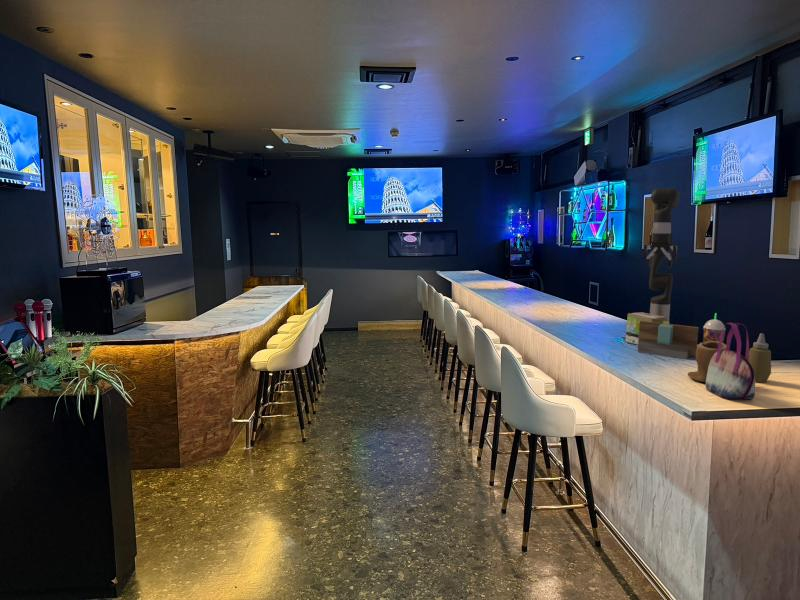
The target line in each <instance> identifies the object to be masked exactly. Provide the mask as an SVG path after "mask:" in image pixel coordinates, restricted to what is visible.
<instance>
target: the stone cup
mask: <svg viewBox="0 0 800 600" xmlns="http://www.w3.org/2000/svg"><path fill="white" fill-rule="evenodd" d="M718 345H719V342H717V341H707V342H703V341H702V342H699V344H698V343H697V349H696V357H695V361H696V364H697V365H696V366H697V371H689V372H687V377H688V378H690V379H692V380H695V381H697V382H702V383H703V382H704V383H706V377H707V372H708V367H709V363H710V360H711V358H712V356H713V355H714V354H715V353H716V352H717V351H718ZM721 350H726V344H725V343H724V342H723V343H721Z"/></svg>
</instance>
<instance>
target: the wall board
mask: <svg viewBox="0 0 800 600" xmlns="http://www.w3.org/2000/svg"><path fill="white" fill-rule="evenodd" d="M661 324H663V323H655V322H646V321H640V326H639V339H638V345H637V353H641V354H648V355H654V356H661V357H667V358H668V357H670V358H674V359H675V358H676V359H682V360H687V359H688V358H690V357H693V358H694V357H695V358H696V349H697V346H698V339H699V327H698V326H689V325H681V324H672V323H669V325H673V326H674V327H673V339H672V345H670V344H663V343H657V339H658V326H659V325H661Z"/></svg>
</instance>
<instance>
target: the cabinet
mask: <svg viewBox="0 0 800 600" xmlns="http://www.w3.org/2000/svg"><path fill="white" fill-rule="evenodd" d="M669 324H671V323H670V321H669V322H665V321H663V324H661V325H659V326H658V339H657V343H663V344H670V345H672V339H673V327H674V326H673V325H674V324H673V325H669Z"/></svg>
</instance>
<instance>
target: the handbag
mask: <svg viewBox="0 0 800 600" xmlns="http://www.w3.org/2000/svg"><path fill="white" fill-rule="evenodd" d="M727 324H728V325H730V326H731V327H730V330H729V331H728V334H727V337H726V344H725V345H726V350H721V343H722V336H723V329H724V327H725V326H724V327H723V329H722V332H721V335H720V340H719V345H718V351H717V352H716V353H715V354H714V355H713V356H712V358H711V360H710V363H709V367H708V372H707V377H706V382H705V389H706V391H708V392H710V393H712V394H714V395H716V396H718V397H720V398H722V399H727V400H729V399H732V400H733V399H747V400H753V399H754V398H755V396H756V382H755V373H754V370H753V367H752V365H751V364H750V363H749V350H750V342H749V341H750V340H749V333H748V330H747V327H746V326H744V324H743V323H739V322H727V323H726V325H727ZM740 325H742V326H744V327H745V330H746V331H745V332H746V337H745V338H746V346H745V356H744V355H742V354H741V351H742V340H741V334H740V330H739V328H738V327H739V326H740ZM733 335H734V337H735V341H736V351H735V350H731V349H730V348H731V342H732V338H733Z"/></svg>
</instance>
